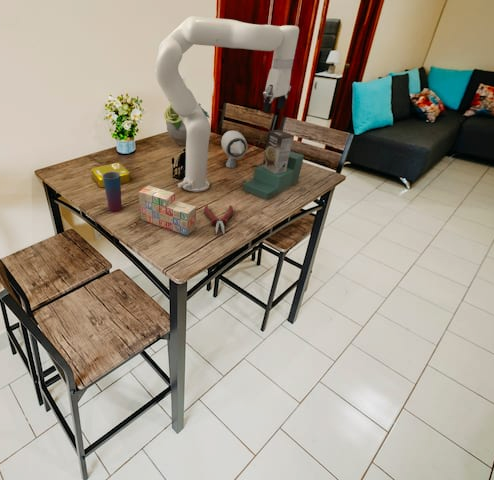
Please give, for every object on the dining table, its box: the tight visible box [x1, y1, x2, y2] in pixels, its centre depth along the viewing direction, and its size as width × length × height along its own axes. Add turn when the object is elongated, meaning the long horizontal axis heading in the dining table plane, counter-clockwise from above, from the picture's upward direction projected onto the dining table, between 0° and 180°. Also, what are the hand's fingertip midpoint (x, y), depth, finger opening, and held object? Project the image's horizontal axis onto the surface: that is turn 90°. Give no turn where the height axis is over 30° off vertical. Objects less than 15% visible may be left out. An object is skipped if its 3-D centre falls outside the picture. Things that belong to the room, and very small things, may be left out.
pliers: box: [203, 204, 234, 236], centre depth 128 cm, size 12×20×3 cm, turn 175°
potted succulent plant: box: [163, 102, 211, 146], centre depth 193 cm, size 25×25×24 cm
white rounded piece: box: [220, 130, 249, 169], centre depth 165 cm, size 15×20×18 cm
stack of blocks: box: [138, 185, 197, 236], centre depth 125 cm, size 21×6×12 cm, turn 56°
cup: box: [103, 171, 123, 213], centre depth 134 cm, size 7×7×15 cm
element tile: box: [91, 162, 131, 188], centre depth 160 cm, size 15×15×5 cm
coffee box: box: [262, 129, 294, 174], centre depth 144 cm, size 9×6×16 cm
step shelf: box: [241, 150, 305, 201], centre depth 150 cm, size 25×13×13 cm, turn 132°
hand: (273, 111), depth 137 cm, fingers open, 9 cm apart
